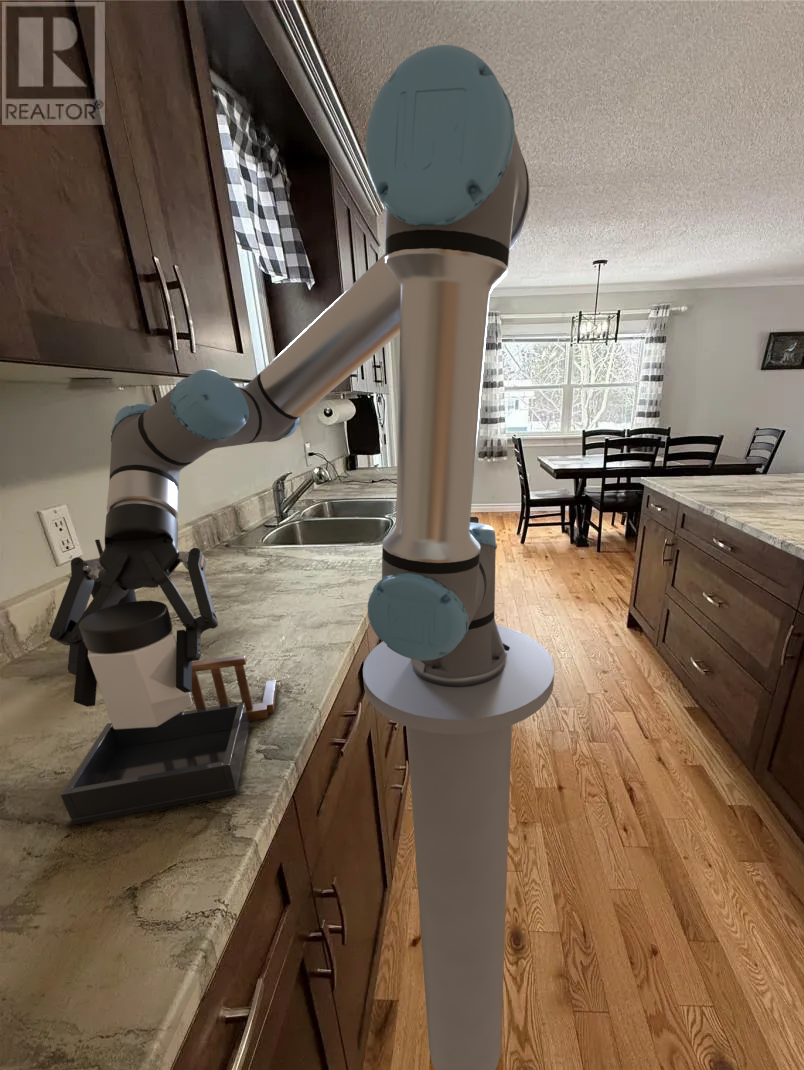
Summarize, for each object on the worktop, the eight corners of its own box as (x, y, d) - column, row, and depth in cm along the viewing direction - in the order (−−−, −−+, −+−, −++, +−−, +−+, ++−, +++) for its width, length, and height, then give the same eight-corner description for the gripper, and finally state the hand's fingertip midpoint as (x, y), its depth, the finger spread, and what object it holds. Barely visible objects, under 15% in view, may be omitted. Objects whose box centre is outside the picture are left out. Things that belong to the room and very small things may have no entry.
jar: (165, 681, 61) (140, 594, 57) (210, 696, 58) (187, 605, 53) (92, 720, 54) (56, 624, 49) (138, 740, 51) (104, 639, 46)
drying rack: (277, 687, 76) (266, 632, 72) (273, 717, 69) (261, 657, 65) (148, 707, 72) (130, 649, 68) (129, 740, 65) (108, 678, 61)
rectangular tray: (250, 727, 67) (244, 702, 65) (237, 793, 56) (229, 764, 54) (116, 750, 63) (106, 723, 62) (73, 825, 52) (60, 795, 50)
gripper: (242, 526, 65) (249, 688, 57) (60, 540, 61) (40, 719, 53) (228, 494, 59) (234, 672, 51) (22, 506, 54) (-8, 706, 46)
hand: (135, 696), depth 52 cm, fingers closed on jar, 9 cm apart
